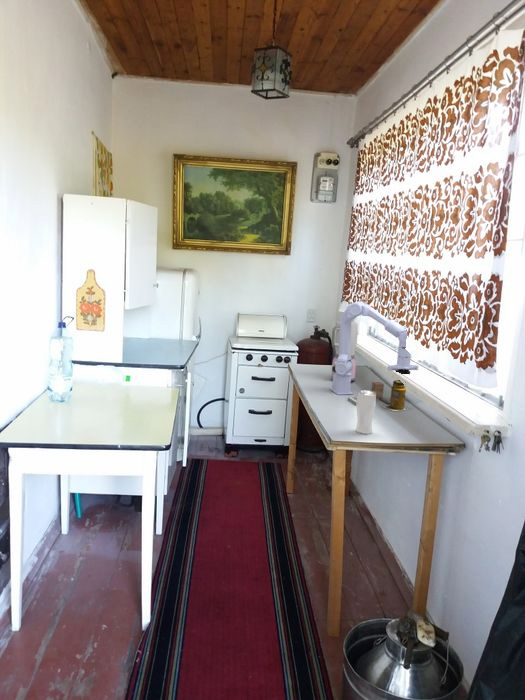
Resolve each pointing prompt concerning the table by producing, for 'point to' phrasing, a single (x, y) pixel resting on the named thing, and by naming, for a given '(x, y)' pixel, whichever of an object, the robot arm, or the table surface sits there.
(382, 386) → the walnut block
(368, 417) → the beer glass
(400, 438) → the table surface
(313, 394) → the table surface
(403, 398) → the condiment
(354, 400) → the panel
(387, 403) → the dark gray rod
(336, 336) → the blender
